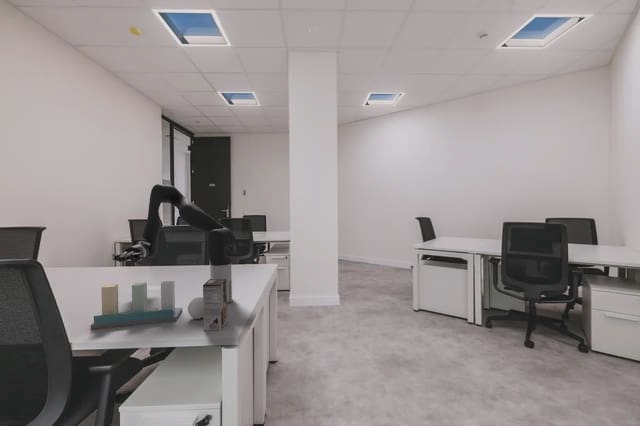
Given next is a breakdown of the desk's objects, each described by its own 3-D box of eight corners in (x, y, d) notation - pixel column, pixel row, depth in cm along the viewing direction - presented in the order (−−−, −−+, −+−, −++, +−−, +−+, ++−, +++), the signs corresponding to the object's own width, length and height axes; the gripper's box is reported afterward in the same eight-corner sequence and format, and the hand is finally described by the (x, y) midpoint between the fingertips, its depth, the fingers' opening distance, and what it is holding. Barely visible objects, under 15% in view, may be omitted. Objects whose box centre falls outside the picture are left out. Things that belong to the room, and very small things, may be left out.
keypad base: (182, 311, 127) (182, 300, 127) (176, 321, 115) (175, 309, 115) (105, 317, 120) (105, 306, 120) (90, 329, 108) (90, 316, 108)
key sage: (147, 312, 120) (146, 282, 120) (144, 316, 116) (143, 284, 116) (135, 313, 119) (135, 283, 119) (132, 317, 115) (131, 285, 115)
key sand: (118, 315, 118) (117, 284, 118) (114, 318, 114) (113, 286, 114) (106, 316, 117) (106, 284, 117) (102, 319, 113) (101, 287, 113)
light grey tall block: (174, 310, 123) (174, 280, 122) (172, 313, 119) (172, 282, 119) (163, 311, 122) (163, 281, 121) (161, 314, 118) (160, 283, 118)
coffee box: (210, 321, 115) (209, 278, 114) (227, 320, 115) (227, 278, 115) (202, 331, 105) (202, 284, 105) (222, 330, 106) (221, 283, 106)
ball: (184, 322, 114) (184, 301, 114) (191, 315, 122) (191, 295, 122) (206, 321, 115) (206, 300, 114) (212, 314, 123) (212, 294, 122)
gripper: (118, 246, 141) (102, 251, 124) (150, 245, 144) (138, 249, 127) (119, 262, 141) (102, 269, 124) (150, 261, 144) (138, 267, 127)
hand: (120, 259), depth 126 cm, fingers closed
